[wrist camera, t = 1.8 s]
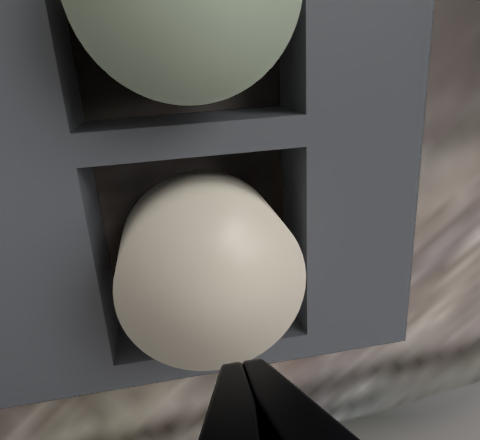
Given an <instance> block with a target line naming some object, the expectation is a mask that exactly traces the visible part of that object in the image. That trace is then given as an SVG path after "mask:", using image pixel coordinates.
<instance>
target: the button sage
mask: <svg viewBox="0 0 480 440" xmlns="http://www.w3.org/2000/svg"><path fill="white" fill-rule="evenodd" d="M61 2H62V5H63V7H64V10H65V13H66V16H67V18H68V21H69V23H70V24H71V26H72V28H73V30H74V32H75V34H76V36H77V38H78V39H79V41H80V42H81V44H82V45H83V47H84V48H85V50H86V51H87V52H88V54H89V55H90V56H91V57H92V58H93V60H94V61H95V62H96V63H97V64H98V65H99V66H100V67H101V68H102V69H103V70H104V71H105V72H106V73H107V74H108V75H109V76H111V77H112V78H113V79H115V80H116V81H117V82H119V83H120V84H122V85H123V86H125V87H126V88H128V89H130V90H132V91H133V92H135V93H137V94H139V95H142V96H144V97H147V98H149V99H152V100H155V101H159V102H163V103H166V104H174V105H181V106H194V105H204V104H211V103H215V102H218V101H222V100H225V99H228V98H230V97H232V96H234V95H237V94H239V93H241V92H242V91H244V90H246V89H247V88H249V87H250V86H252V85H253V84H254V83H256V82H257V81H258V80H259V79H261V78H262V77H263V76H264V75H265V74H266V73H267V72H268V71H269V70H270V69H271V68H272V67H273V65H274V64H275V63H276V61H277V60H278V59H279V57H280V56H281V55H282V53H283V52H284V50H285V48H286V46H287V44H288V43H289V41H290V39H291V37H292V34H293V32H294V29H295V27H296V24H297V21H298V17H299V14H300V10H301V5H302V0H61Z"/></svg>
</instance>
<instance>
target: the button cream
mask: <svg viewBox="0 0 480 440" xmlns="http://www.w3.org/2000/svg"><path fill="white" fill-rule="evenodd" d="M305 287H306V269H305V263H304V258H303V255H302V252H301V249H300V247H299V244H298V243H297V241H296V239H295V237H294V236H293V234H292V233H291V232H290V230H289V229H288V228H287V227H286V225H285V224H284V223H283V222H282V220H281V219H280V218H279V217H278V215H277V214H276V213H275V212H274V211H273V209H272V208H271V207H270V206H269V204H268V203H267V202H266V201H265V200H264V198H263V197H262V196H261V195H260V194H259V193H258V192H257V191H256V190H255V189H254V188H253V187H251V186H250V185H249V184H247V183H246V182H244V181H242V180H240V179H239V178H237V177H234V176H231V175H229V174H226V173H221V172H217V171H207V170H200V171H190V172H184V173H180V174H177V175H174V176H171V177H169V178H167V179H164V180H162V181H161V182H159V183H158V184H156V185H154V186H153V187H152V188H150V189H149V190H148V191H147V192H145V193H144V194H143V196H142V197H141V198H140V199H139V200H138V201H137V202H136V204H135V205H134V206H133V208H132V209H131V211H130V213H129V215H128V217H127V219H126V222H125V224H124V227H123V232H122V236H121V242H120V247H119V253H118V258H117V263H116V269H115V274H114V280H113V300H114V307H115V311H116V314H117V317H118V319H119V322H120V324H121V326H122V328H123V330H124V331H125V333H126V334H127V336H128V337H129V338H130V339H131V341H132V342H133V343H134V344H135V345H136V346H137V347H138V348H139V349H140V350H142V351H143V352H144V353H145V354H147V355H148V356H150V357H151V358H153V359H155V360H157V361H159V362H161V363H163V364H166V365H169V366H171V367H175V368H179V369H183V370H191V371H213V370H220V368H221V366H222V365H223V364H227V363H233V362H241V363H243V362H244V361H245V360H251V359H253V358H255V357H257V356H258V355H260V354H262V353H263V352H265V351H266V350H267V349H269V348H270V347H271V346H273V345H274V344H275V343H276V342H277V341H278V340H279V339H280V338H281V337H282V336H283V335H284V334H285V332H286V331H287V330H288V329H289V327H290V326H291V324H292V323H293V321H294V320H295V318H296V316H297V314H298V312H299V310H300V307H301V304H302V301H303V298H304V293H305Z"/></svg>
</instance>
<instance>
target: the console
mask: <svg viewBox="0 0 480 440" xmlns="http://www.w3.org/2000/svg"><path fill="white" fill-rule="evenodd" d="M434 1H435V0H302V5H301V10H300V14H299V17H298V21H297V24H296V27H295V29H294V32H293V34H292V37H291V39H290V41H289V43H288V44H287V46H286V48H285V50H284V52H283V53H282V55H281V56H280V57H279V70H280V106H271V107H259V108H246V109H233V110H220V111H207V112H194V113H182V114H169V115H156V116H143V117H130V118H117V119H105V120H92V121H85V118H84V112H83V106H82V101H81V95H80V89H79V83H78V78H77V72H76V66H75V61H74V55H73V49H72V43H71V38H70V32H69V26H68V21H67V16H66V13H65V10H64V7H63V5H62V2H61V0H0V409H4V408H10V407H16V406H22V405H28V404H33V403H39V402H45V401H51V400H57V399H63V398H69V397H75V396H81V395H87V394H93V393H98V392H104V391H110V390H116V389H122V388H128V387H134V386H140V385H146V384H152V383H158V382H163V381H169V380H175V379H181V378H187V377H193V376H199V375H205V374H211V373H217V372H220V370H213V371H191V370H183V369H179V368H175V367H171V366H169V365H166V364H163V363H161V362H159V361H157V360H155V359H153V358H151V357H150V356H148V355H147V354H145V353H144V352H143V351H142V350H140V349H139V348H138V347H137V346H136V345H135V344H134V343H133V342H132V341H131V339H130V338H129V337H128V336H127V334H126V333H125V331H124V330H123V328H122V326H121V324H120V322H119V319H118V317H117V314H116V311H115V307H114V300H113V278H112V272H111V267H110V261H109V255H108V249H107V244H106V238H105V232H104V227H103V221H102V215H101V209H100V204H99V198H98V192H97V187H96V181H95V175H94V169H93V167H96V166H106V165H117V164H128V163H138V162H149V161H160V160H171V159H181V158H192V157H203V156H213V155H224V154H235V153H245V152H256V151H267V150H278V149H281V152H282V194H283V223H284V224H285V225H286V227H287V228H288V229H289V230H290V232H291V233H292V234H293V236H294V237H295V239H296V241H297V243H298V244H299V247H300V249H301V252H302V255H303V258H304V263H305V269H306V287H305V293H304V298H303V301H302V304H301V307H300V310H299V312H298V314H297V316H296V318H295V320H294V321H293V323H292V324H291V326H290V327H289V329H288V330H287V331H286V332H285V334H284V335H283V336H282V337H281V338H280V339H279V340H278V341H277V342H276V343H275V344H274V345H273V346H271V347H270V348H269V349H267V350H266V351H265V352H263V353H262V354H260V355H258V356H257V357H255V358H253V359H257V358H261V359H263V360H265V361H266V362H267V363H268V364H270V363H276V362H282V361H288V360H293V359H299V358H305V357H311V356H317V355H323V354H329V353H335V352H341V351H347V350H353V349H358V348H364V347H370V346H376V345H382V344H388V343H394V342H400V341H405V338H406V326H407V314H408V303H409V291H410V280H411V268H412V256H413V245H414V233H415V222H416V210H417V198H418V187H419V175H420V164H421V152H422V140H423V129H424V117H425V106H426V94H427V83H428V71H429V59H430V48H431V36H432V25H433V13H434Z"/></svg>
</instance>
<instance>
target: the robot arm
mask: <svg viewBox="0 0 480 440" xmlns="http://www.w3.org/2000/svg"><path fill="white" fill-rule="evenodd" d="M198 440H360V439H359V438H357V437H356V436H355V435H354V434H353V433H351V432H350V431H349V430H348V429H346V428H345V427H344V426H343V425H342V424H340V423H339V422H338V421H337V420H336V419H334V418H333V417H332V416H331V415H330V414H328V413H327V412H326V411H325V410H324V409H322V408H321V407H320V406H319V405H318V404H316V403H315V402H314V401H313V400H312V399H310V398H309V397H308V396H307V395H306V394H304V393H303V392H302V391H301V390H300V389H298V388H297V387H296V386H295V385H294V384H292V383H291V382H290V381H289V380H288V379H286V378H285V377H284V376H283V375H282V374H280V373H279V372H278V371H277V370H276V369H274V368H273V367H272V366H271V365H269V364H268V363H267V362H266V361H265V360H263V359H261V358H257V359H251V360H245V361H244V362H243V363H241V362H233V363H227V364H223V365H222V366H221V368H220V372H219V375H218V378H217V381H216V385H215V388H214V391H213V394H212V397H211V401H210V404H209V407H208V410H207V413H206V417H205V420H204V423H203V426H202V430H201V433H200V436H199V439H198Z"/></svg>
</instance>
